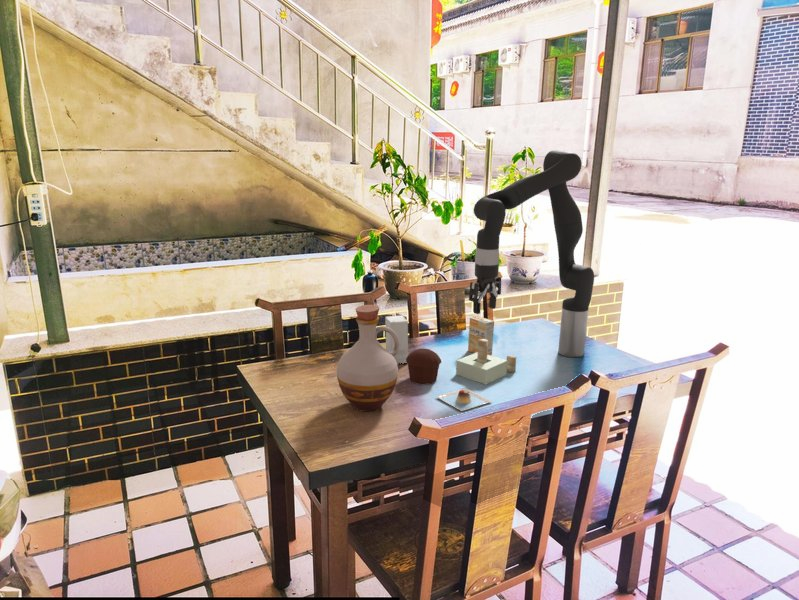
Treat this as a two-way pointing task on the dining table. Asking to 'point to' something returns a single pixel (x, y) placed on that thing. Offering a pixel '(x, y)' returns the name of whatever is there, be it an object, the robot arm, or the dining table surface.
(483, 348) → the long dowel
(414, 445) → the dining table surface
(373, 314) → the jug
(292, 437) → the dining table surface
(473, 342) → the supplement box
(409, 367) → the muffin
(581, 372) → the dining table surface
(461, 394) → the dessert
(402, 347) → the skincare box
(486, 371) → the hole block
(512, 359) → the short dowel
